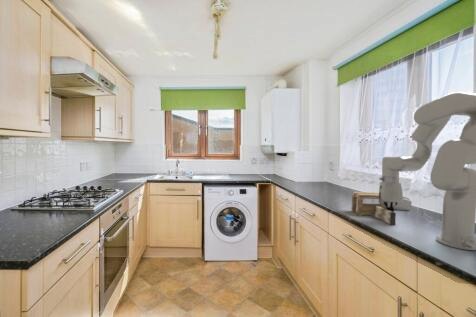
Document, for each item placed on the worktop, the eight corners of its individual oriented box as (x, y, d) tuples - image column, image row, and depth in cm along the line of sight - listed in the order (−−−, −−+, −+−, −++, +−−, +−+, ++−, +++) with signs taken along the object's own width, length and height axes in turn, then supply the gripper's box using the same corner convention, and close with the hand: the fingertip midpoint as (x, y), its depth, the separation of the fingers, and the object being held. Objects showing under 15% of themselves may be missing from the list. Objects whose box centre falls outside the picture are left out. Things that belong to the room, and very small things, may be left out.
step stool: (392, 217, 128) (393, 196, 128) (358, 215, 130) (359, 194, 130) (382, 212, 138) (383, 192, 138) (351, 211, 140) (352, 191, 139)
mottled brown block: (373, 216, 129) (374, 205, 128) (376, 216, 129) (377, 205, 129) (391, 224, 114) (392, 212, 114) (395, 224, 115) (395, 212, 114)
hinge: (407, 208, 149) (410, 195, 145) (410, 212, 145) (414, 199, 141) (378, 206, 152) (381, 193, 149) (381, 210, 148) (384, 197, 144)
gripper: (379, 180, 118) (378, 215, 118) (409, 181, 117) (409, 216, 117) (372, 179, 126) (371, 212, 126) (401, 179, 124) (400, 213, 124)
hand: (389, 214), depth 121 cm, fingers closed
